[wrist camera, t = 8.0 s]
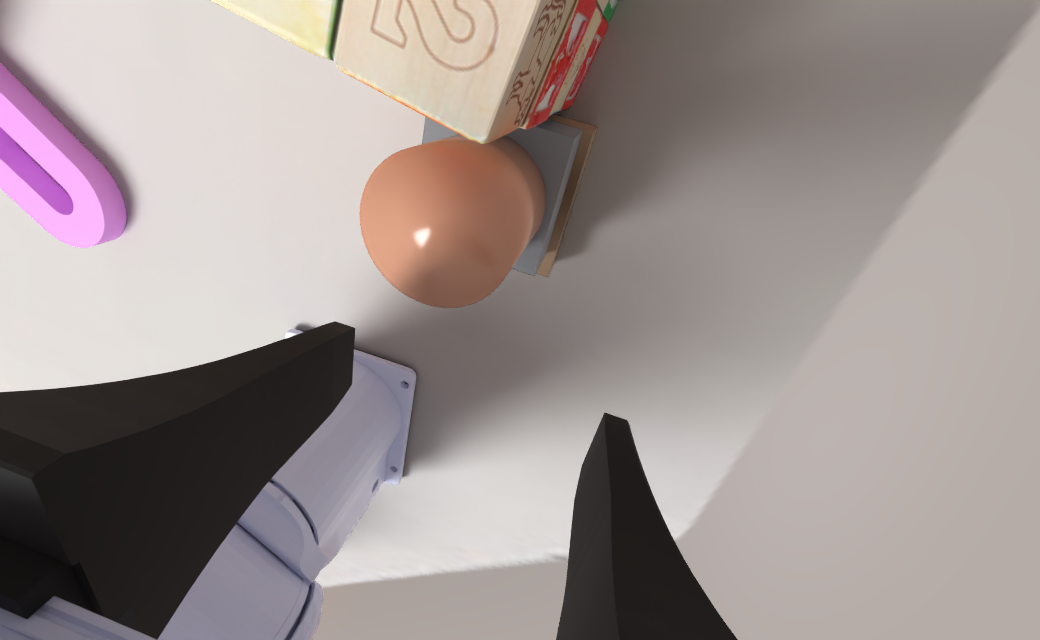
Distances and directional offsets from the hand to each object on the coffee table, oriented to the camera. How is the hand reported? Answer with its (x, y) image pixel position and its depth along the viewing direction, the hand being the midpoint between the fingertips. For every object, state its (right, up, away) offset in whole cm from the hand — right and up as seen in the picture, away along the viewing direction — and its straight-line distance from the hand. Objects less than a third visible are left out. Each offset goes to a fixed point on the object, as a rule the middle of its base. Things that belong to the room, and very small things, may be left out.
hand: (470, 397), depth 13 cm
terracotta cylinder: (0, +6, +4) cm, 7 cm away
